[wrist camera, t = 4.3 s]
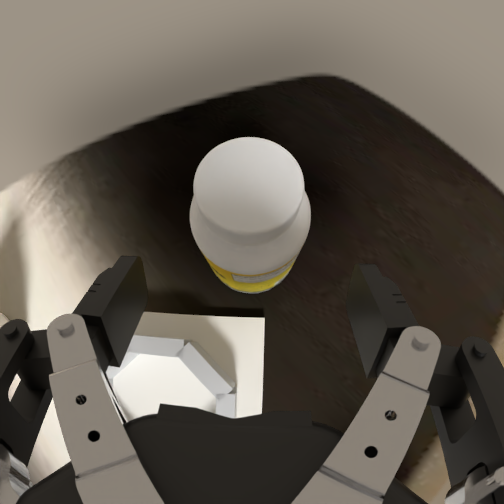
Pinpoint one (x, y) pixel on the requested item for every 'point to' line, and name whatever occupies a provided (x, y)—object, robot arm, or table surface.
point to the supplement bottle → (250, 212)
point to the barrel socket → (192, 365)
